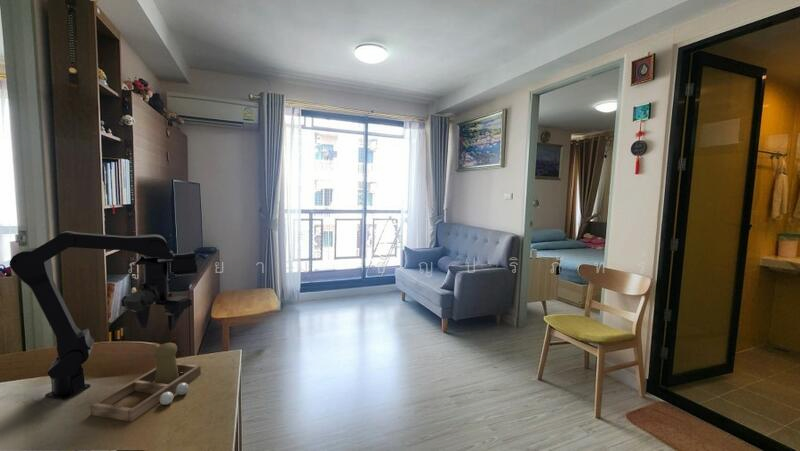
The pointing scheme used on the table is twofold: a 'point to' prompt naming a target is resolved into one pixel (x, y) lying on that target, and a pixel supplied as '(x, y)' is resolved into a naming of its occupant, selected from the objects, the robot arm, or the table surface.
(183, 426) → the table surface
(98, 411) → the caddy
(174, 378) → the olive tapered figurine
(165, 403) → the pebble
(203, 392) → the table surface
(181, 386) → the pebble
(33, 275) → the robot arm
